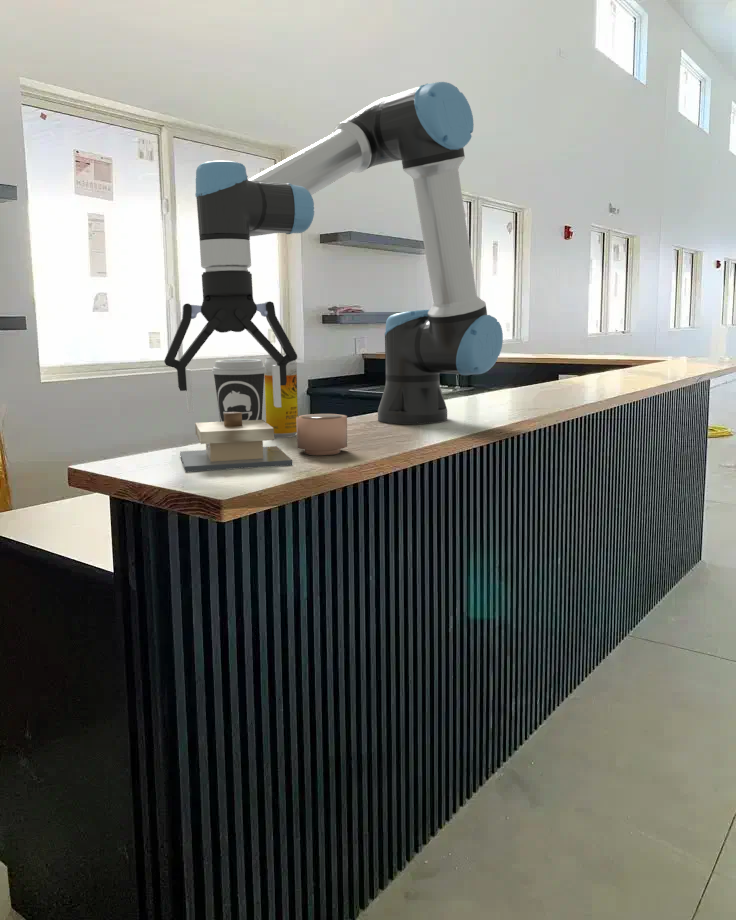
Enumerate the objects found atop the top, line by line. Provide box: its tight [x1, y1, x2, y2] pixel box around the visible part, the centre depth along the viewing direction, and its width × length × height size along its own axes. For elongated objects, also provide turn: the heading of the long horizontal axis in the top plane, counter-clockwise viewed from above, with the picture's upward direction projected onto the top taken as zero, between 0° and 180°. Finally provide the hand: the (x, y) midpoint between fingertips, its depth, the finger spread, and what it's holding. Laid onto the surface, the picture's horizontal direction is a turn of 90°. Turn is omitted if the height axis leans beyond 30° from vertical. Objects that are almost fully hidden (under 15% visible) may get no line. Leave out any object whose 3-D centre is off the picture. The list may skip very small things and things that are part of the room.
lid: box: [194, 412, 275, 445], centre depth 123 cm, size 11×11×4 cm
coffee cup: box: [210, 358, 267, 422], centre depth 137 cm, size 10×10×15 cm
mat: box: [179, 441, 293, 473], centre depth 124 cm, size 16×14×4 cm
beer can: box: [263, 356, 299, 439], centre depth 149 cm, size 6×6×15 cm
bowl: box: [296, 413, 348, 456], centre depth 131 cm, size 8×8×6 cm
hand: (234, 409), depth 123 cm, fingers open, 13 cm apart
